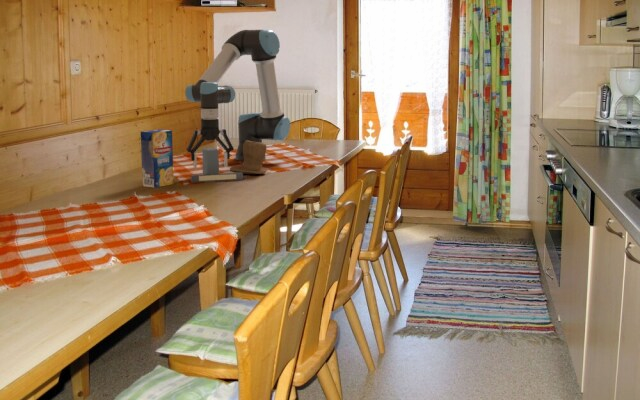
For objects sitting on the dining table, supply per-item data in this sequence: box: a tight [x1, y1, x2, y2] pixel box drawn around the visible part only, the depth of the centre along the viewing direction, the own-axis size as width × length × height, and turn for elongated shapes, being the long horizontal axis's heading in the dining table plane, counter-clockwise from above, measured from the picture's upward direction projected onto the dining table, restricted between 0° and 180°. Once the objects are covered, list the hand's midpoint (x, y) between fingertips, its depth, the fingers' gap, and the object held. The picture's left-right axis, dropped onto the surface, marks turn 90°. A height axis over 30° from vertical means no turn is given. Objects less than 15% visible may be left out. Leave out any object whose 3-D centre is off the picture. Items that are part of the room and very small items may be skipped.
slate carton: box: [201, 147, 220, 174], centre depth 336 cm, size 9×5×12 cm, turn 21°
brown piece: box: [229, 140, 267, 175], centre depth 345 cm, size 15×12×15 cm
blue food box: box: [140, 129, 175, 188], centre depth 314 cm, size 7×11×22 cm, turn 148°
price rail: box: [190, 172, 244, 184], centre depth 326 cm, size 2×22×3 cm, turn 111°
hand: (210, 167), depth 336 cm, fingers open, 13 cm apart
